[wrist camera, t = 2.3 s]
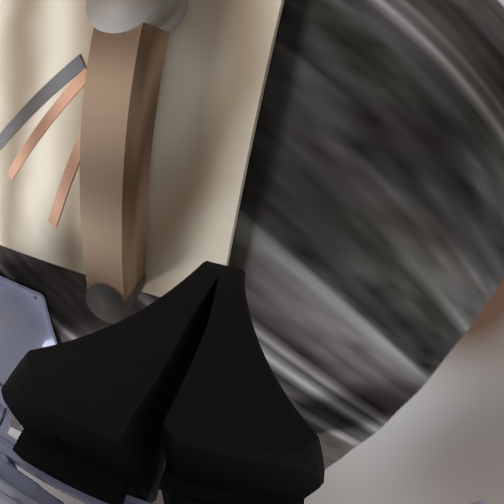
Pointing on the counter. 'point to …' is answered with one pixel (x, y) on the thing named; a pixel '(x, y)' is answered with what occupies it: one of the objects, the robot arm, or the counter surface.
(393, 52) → the counter surface
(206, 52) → the board
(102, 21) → the lever
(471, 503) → the robot arm
